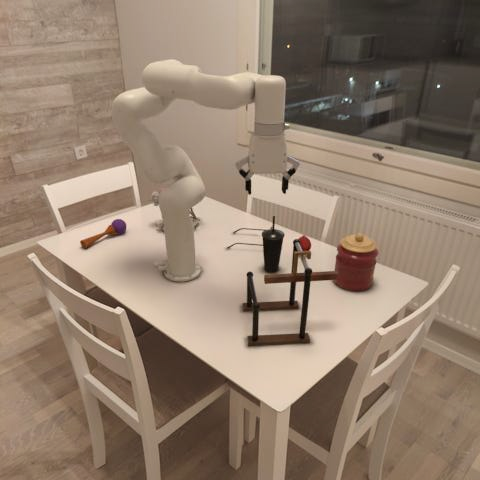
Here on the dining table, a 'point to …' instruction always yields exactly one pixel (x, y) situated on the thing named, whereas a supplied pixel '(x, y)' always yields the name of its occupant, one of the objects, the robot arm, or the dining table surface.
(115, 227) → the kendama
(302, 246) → the red oval fruit
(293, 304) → the rack
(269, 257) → the drinking cup
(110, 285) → the dining table surface
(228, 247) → the glasses
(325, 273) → the hanger
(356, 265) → the kitchen canister
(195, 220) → the flower
